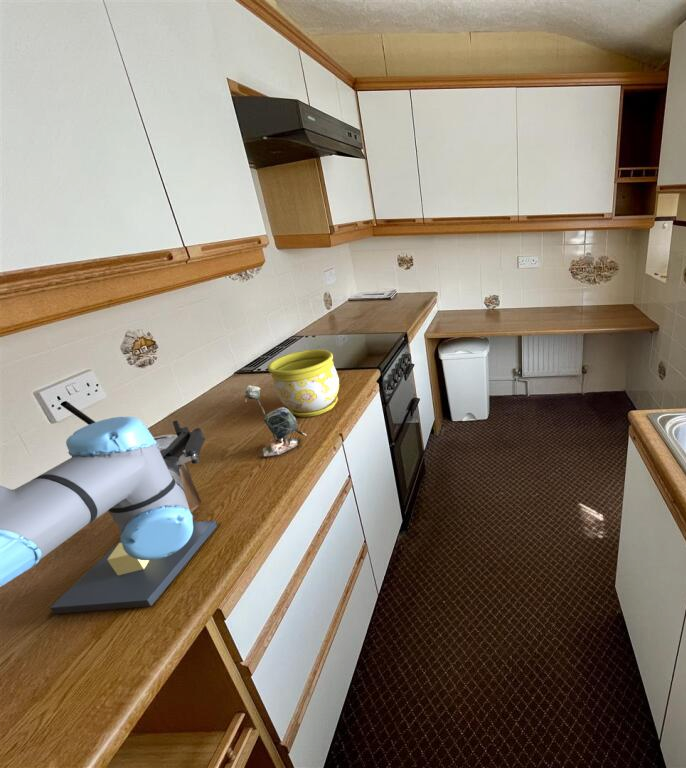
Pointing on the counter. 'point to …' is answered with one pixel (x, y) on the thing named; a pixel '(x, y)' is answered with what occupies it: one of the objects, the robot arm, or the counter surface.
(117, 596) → the tray
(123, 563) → the pale yellow cube
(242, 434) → the counter surface
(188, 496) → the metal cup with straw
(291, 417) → the decorative sculpture
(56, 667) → the counter surface
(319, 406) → the flowerpot
